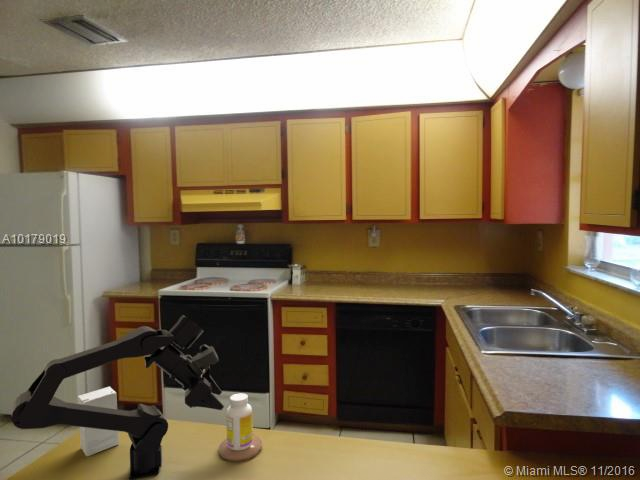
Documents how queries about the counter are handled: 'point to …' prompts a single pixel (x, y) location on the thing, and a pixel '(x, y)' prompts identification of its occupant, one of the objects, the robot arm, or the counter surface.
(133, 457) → the robot arm
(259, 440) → the terracotta round disc
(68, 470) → the counter surface
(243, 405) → the supplement bottle
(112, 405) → the skincare box
